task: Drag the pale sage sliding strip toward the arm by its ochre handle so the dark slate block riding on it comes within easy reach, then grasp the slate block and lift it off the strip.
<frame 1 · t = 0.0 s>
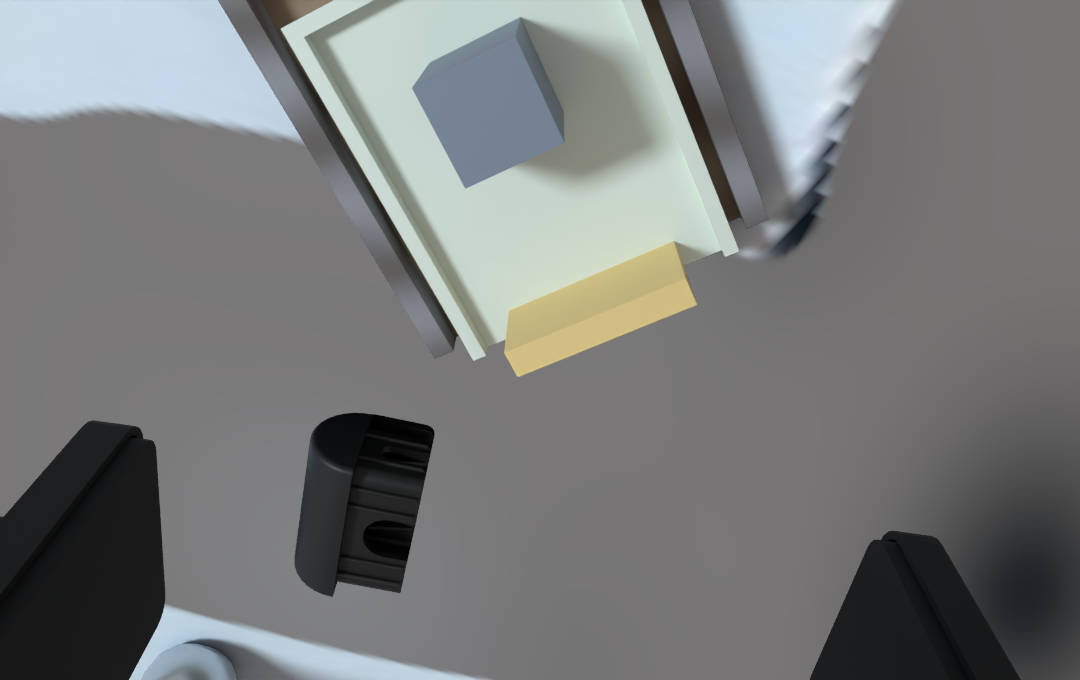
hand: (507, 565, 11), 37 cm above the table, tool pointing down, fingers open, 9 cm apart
slate block: (497, 87, 43), point 2 cm above the table, touching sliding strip
guide base: (482, 43, 44), on the table
end cap: (372, 468, 57), on the table
plastic bottle: (201, 659, 66), on the table
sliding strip: (522, 152, 42), point 4 cm above the table, slide at 0.0 cm, touching slate block
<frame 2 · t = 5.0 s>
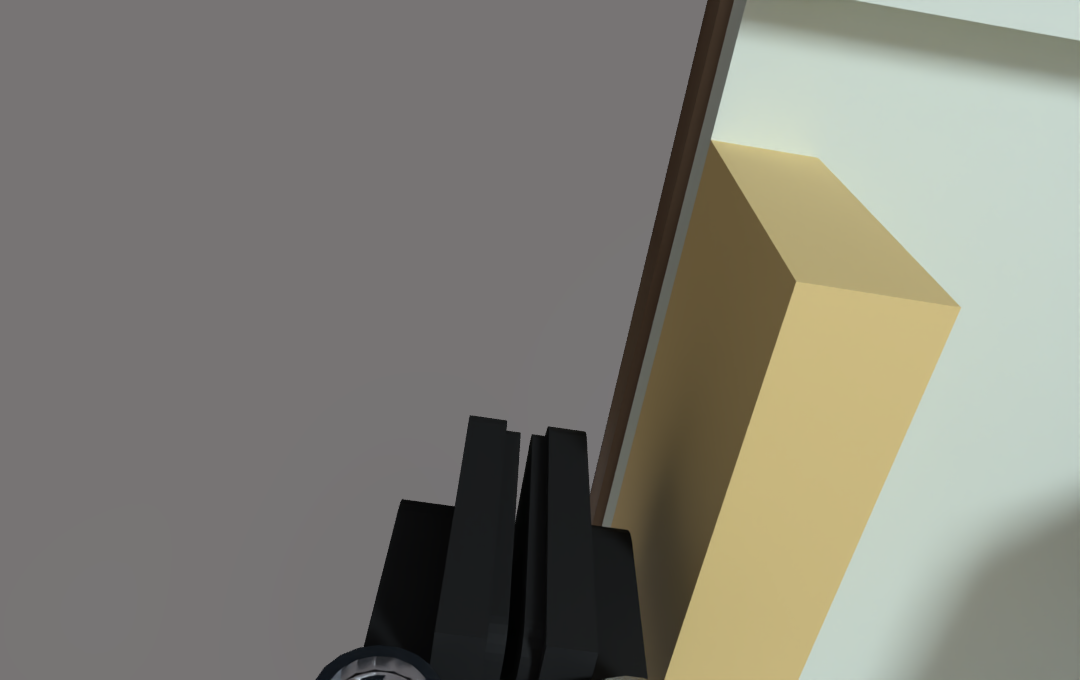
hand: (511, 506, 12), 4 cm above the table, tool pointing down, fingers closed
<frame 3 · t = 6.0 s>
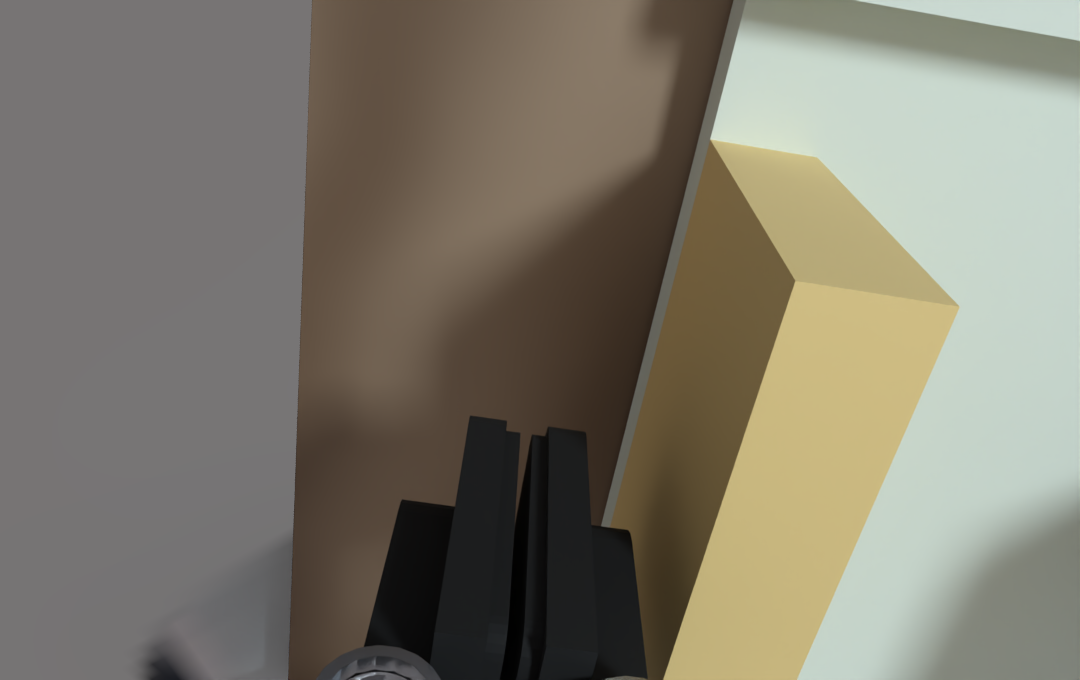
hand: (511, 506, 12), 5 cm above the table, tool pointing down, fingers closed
guide base: (1027, 429, 17), on the table
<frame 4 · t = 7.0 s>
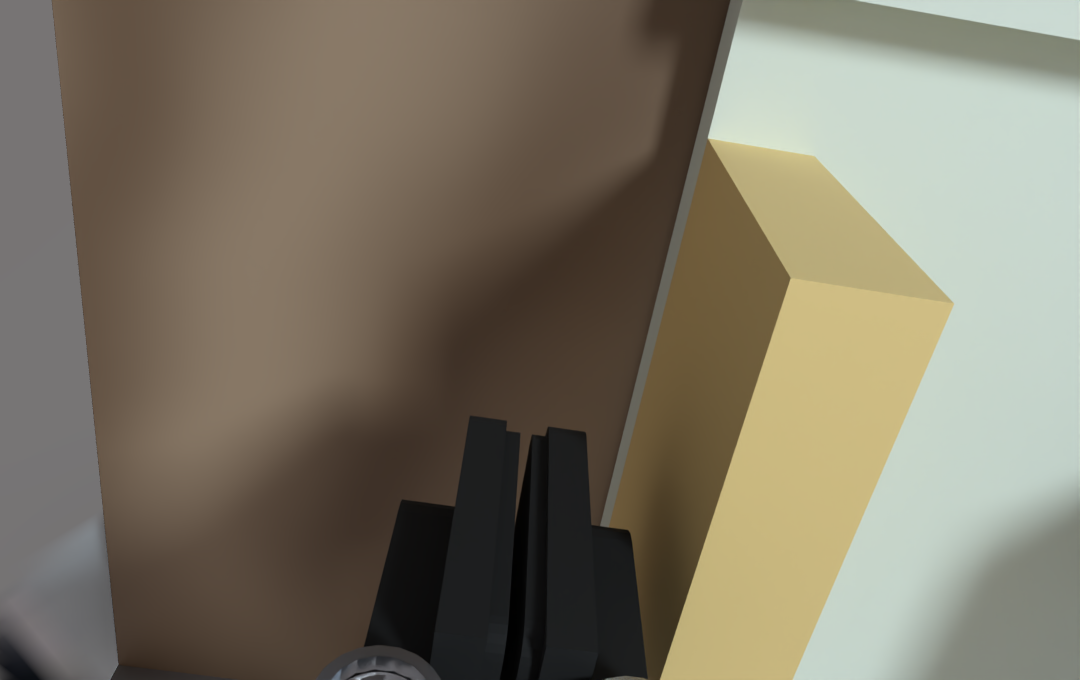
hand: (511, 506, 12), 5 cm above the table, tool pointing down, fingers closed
guide base: (841, 399, 17), on the table
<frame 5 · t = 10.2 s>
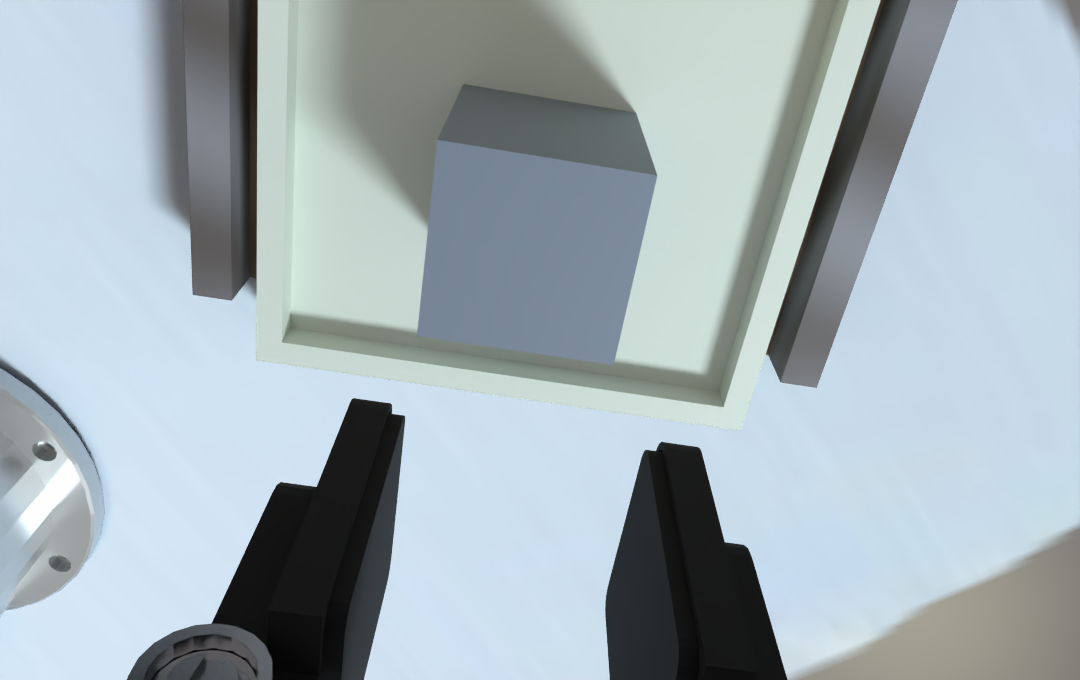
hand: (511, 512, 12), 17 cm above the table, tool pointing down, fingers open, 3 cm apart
slate block: (536, 182, 26), point 2 cm above the table, touching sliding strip
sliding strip: (552, 97, 22), point 4 cm above the table, slide at 11.0 cm, touching slate block
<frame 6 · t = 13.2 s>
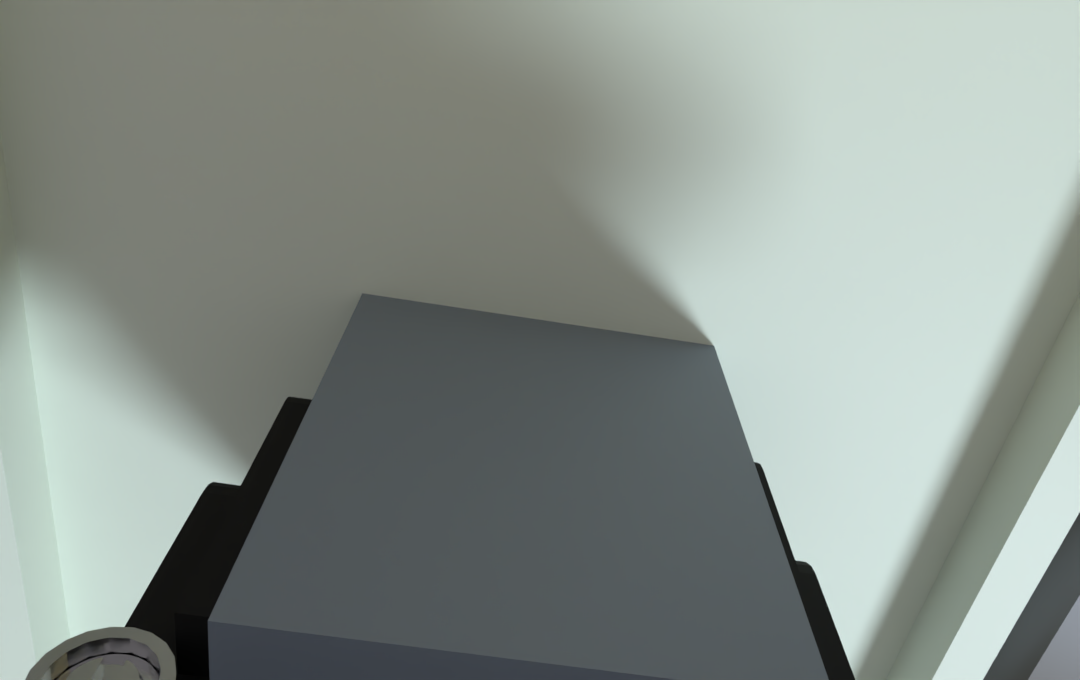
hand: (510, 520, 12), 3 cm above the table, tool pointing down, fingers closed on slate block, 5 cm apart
slate block: (514, 463, 13), point 2 cm above the table, touching gripper, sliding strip
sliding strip: (544, 362, 10), point 4 cm above the table, slide at 11.0 cm, touching slate block
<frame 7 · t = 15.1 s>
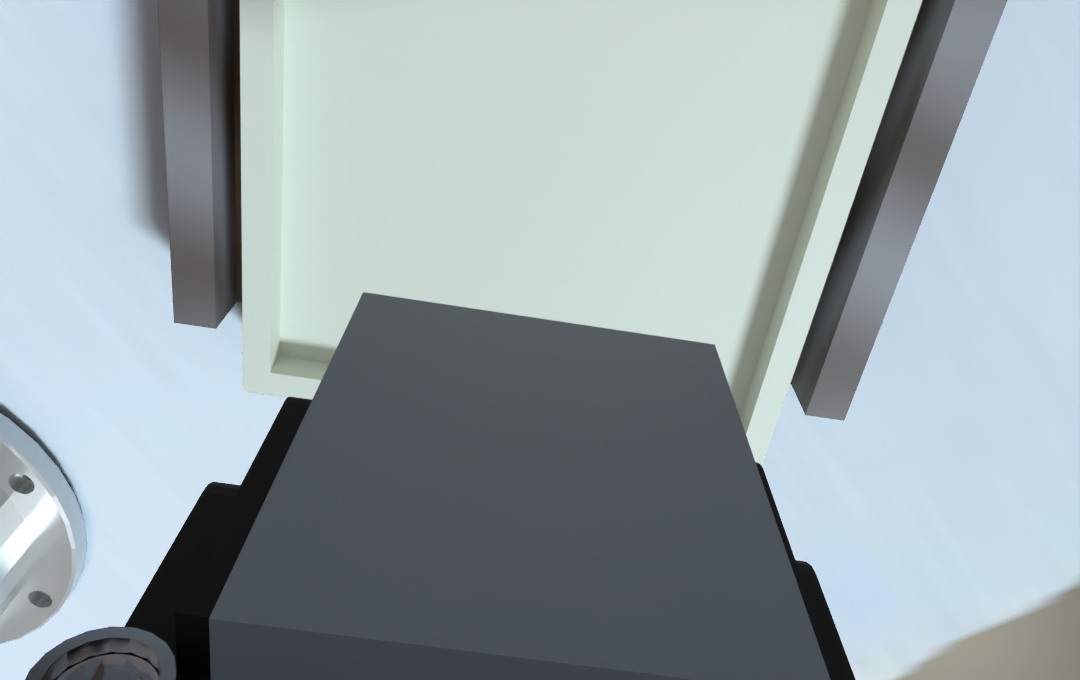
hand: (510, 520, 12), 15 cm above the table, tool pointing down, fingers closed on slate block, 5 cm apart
slate block: (515, 461, 13), point 14 cm above the table, touching gripper
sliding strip: (561, 112, 21), point 4 cm above the table, slide at 11.0 cm
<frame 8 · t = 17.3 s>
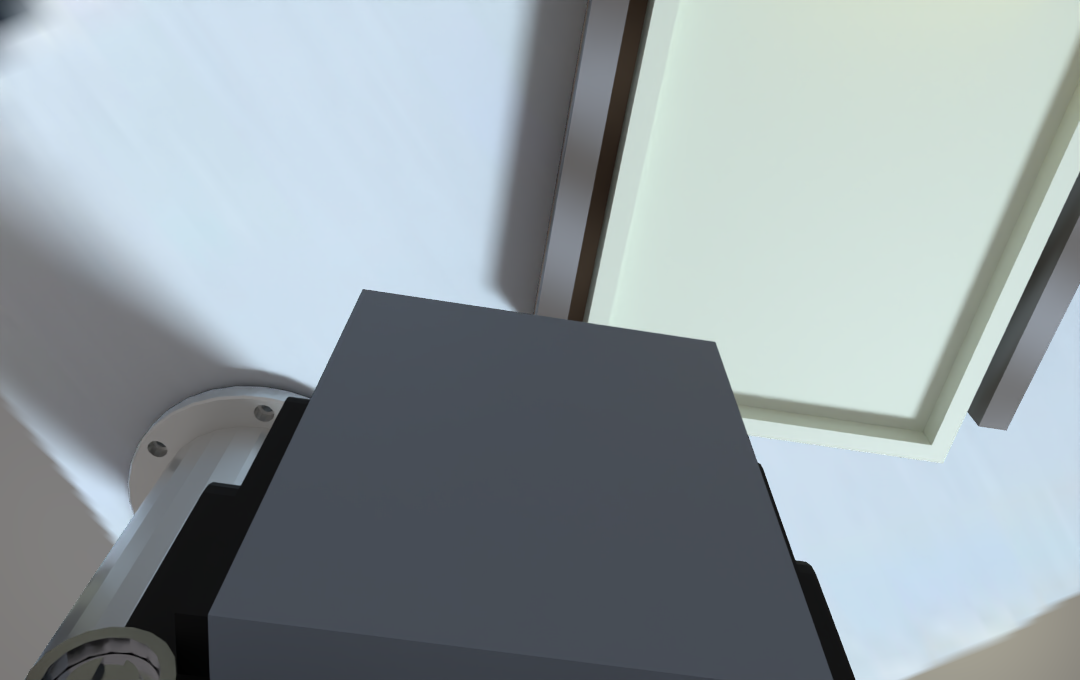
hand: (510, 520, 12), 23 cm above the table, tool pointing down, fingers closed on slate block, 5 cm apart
slate block: (515, 459, 13), point 22 cm above the table, touching gripper
guide base: (864, 28, 31), on the table
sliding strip: (843, 222, 30), point 4 cm above the table, slide at 11.0 cm
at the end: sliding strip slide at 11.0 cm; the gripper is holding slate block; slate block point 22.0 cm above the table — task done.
